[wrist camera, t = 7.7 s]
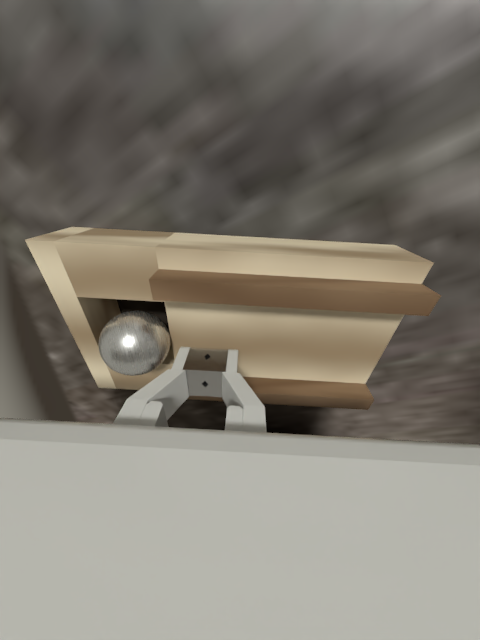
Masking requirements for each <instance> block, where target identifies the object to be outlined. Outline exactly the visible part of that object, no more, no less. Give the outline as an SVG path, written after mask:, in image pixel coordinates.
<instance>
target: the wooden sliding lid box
mask: <svg viewBox="0 0 480 640" xmlns="http://www.w3.org/2000/svg"><path fill="white" fill-rule="evenodd" d="M25 241H26V243H27V245H28V247H29V249H30V251H31V253H32V255H33V257H34V259H35V261H36V263H37V265H38V267H39V269H40V271H41V273H42V275H43V277H44V279H45V281H46V283H47V285H48V287H49V289H50V291H51V293H52V295H53V297H54V299H55V301H56V303H57V305H58V307H59V309H60V311H61V313H62V315H63V317H64V319H65V321H66V323H67V325H68V327H69V329H70V331H71V333H72V335H73V337H74V339H75V341H76V343H77V345H78V347H79V349H80V351H81V353H82V355H83V357H84V359H85V361H86V363H87V365H88V367H89V369H90V371H91V373H92V375H93V377H94V379H95V381H96V383H97V385H98V387H99V388H113V389H130V390H140V389H141V388H143V387H144V386H146V385H147V384H148V383H150V382H151V381H152V380H154V379H155V378H157V377H158V376H159V375H161V374H162V373H164V372H165V371H166V370H168V369H171V368H172V366H173V363H174V361H175V358H176V356H177V353H178V351H179V349H180V347H181V346H182V347H197V348H210V349H228V350H229V349H236V350H238V366H237V373H240V374H241V375H242V377H243V378H244V379H245V381H246V382H247V384H248V385H249V386H250V388H251V389H252V390H253V392H254V393H255V394H256V396H257V397H258V398H259V400H260V401H261V402H262V403H263V404H280V405H297V406H314V407H331V408H348V409H365V410H368V409H369V407H370V406H371V404H372V403H373V401H374V398H373V397H372V395H371V393H370V391H369V389H368V388H367V386H366V384H365V383H366V381H367V380H368V378H369V376H370V374H371V373H372V371H373V369H374V367H375V366H376V364H377V362H378V360H379V358H380V357H381V355H382V353H383V351H384V350H385V348H386V346H387V344H388V343H389V341H390V339H391V337H392V336H393V334H394V332H395V330H396V328H397V327H398V325H399V323H400V321H401V320H402V318H403V316H404V315H420V316H429V314H430V312H431V311H432V309H433V308H434V306H435V305H436V303H437V302H438V300H439V298H440V297H441V295H439V294H437V293H436V292H434V291H432V290H431V289H429V288H428V287H426V286H424V285H423V284H422V282H423V281H424V279H425V277H426V275H427V274H428V272H429V270H430V268H431V267H432V265H433V262H431V261H428V260H426V259H424V258H422V257H420V256H418V255H415V254H413V253H411V252H409V251H407V250H404V249H402V248H400V247H398V246H396V245H387V244H369V243H351V242H333V241H315V240H297V239H279V238H262V237H244V236H226V235H208V234H190V233H172V232H154V231H137V230H119V229H101V228H83V227H70V228H66V229H63V230H59V231H55V232H52V233H48V234H44V235H41V236H37V237H34V238H30V239H26V240H25ZM117 299H121V300H139V301H156V302H165V308H166V314H167V319H168V325H169V331H170V349H169V352H168V355H167V357H166V358H165V360H164V361H163V362H162V363H161V364H160V365H159V366H158V367H157V368H156V369H154V370H152V371H151V372H148V373H146V374H142V375H137V376H129V375H123V374H120V373H117V372H115V371H113V370H112V369H111V368H109V367H108V366H107V365H106V364H105V362H104V361H103V360H102V358H101V356H100V353H99V346H98V343H99V337H100V334H101V332H102V330H103V328H104V326H105V325H106V324H107V323H108V322H109V321H110V320H111V319H112V318H114V317H115V316H117V315H119V314H121V311H120V308H119V305H118V302H117ZM187 399H194V400H212V401H224V400H223V398H222V397H211V396H189V397H188V398H187Z"/></svg>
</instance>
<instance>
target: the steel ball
mask: <svg viewBox="0 0 480 640" xmlns="http://www.w3.org/2000/svg"><path fill="white" fill-rule="evenodd" d="M98 346H99V353H100V356H101V358H102V360H103V361H104V362H105V364H106V365H107V366H108V367H109V368H111V369H112V370H113V371H115V372H117V373H120V374H123V375H129V376H137V375H142V374H146V373H148V372H151V371H152V370H154V369H156V368H157V367H158V366H159V365H160V364H161V363H162V362H163V361H164V360H165V358H166V357H167V355H168V352H169V349H170V334H169V331H168V329H167V327H166V325H165V324H164V323H163V322H162V321H161V320H160V319H159V318H158V317H156V316H155V315H153V314H151V313H148V312H144V311H128V312H124V313H122V314H119V315H117V316H115V317H114V318H112V319H111V320H110V321H109V322H108V323H107V324H106V325H105V326H104V328H103V330H102V332H101V334H100V337H99V343H98Z"/></svg>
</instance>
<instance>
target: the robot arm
mask: <svg viewBox="0 0 480 640" xmlns="http://www.w3.org/2000/svg"><path fill="white" fill-rule="evenodd" d="M237 366H238V350H236V349H229V350H228V349H210V348H197V347H182V346H181V347H180V349H179V351H178V353H177V356H176V358H175V361H174V363H173V366H172V368H171V369H168V370H166V371H165V372H164V373H162V374H161V375H159V376H158V377H157V378H155V379H154V380H152V381H151V382H150V383H148V384H147V385H146V386H144V387H143V388H141V389H140V390H139V391H137V392H136V393H134V394H133V395H132V396H130V397H129V398H127V400H126V401H125V403H124V405H123V407H122V409H121V410H120V412H119V414H118V416H117V418H116V419H115V421H114V423H113V424H104V423H86V422H68V421H67V422H66V421H49V420H32V419H13V418H0V640H480V445H479V444H465V443H446V442H427V441H409V440H391V439H373V438H355V437H337V436H319V435H301V434H284V433H267V430H266V417H265V406H264V405H263V404H262V402H261V401H260V400H259V398H258V397H257V396H256V394H255V393H254V392H253V390H252V389H251V388H250V386H249V385H248V384H247V382H246V381H245V379H244V378H243V377H242V375H241V374H240V373H237ZM189 396H211V397H222V398H223V400H224V402H225V404H226V406H227V414H226V423H225V430H210V429H193V428H175V427H168V423H167V420H168V419H169V418H170V417H171V416H172V415H173V414H174V412H175V411H176V410H177V409H178V408H179V407H180V406H181V405H182V404H183V403H184V402H185V401H186V399H187V398H188V397H189Z"/></svg>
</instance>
